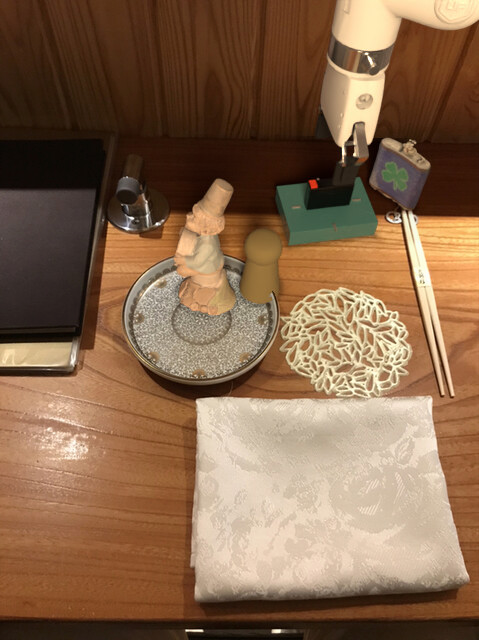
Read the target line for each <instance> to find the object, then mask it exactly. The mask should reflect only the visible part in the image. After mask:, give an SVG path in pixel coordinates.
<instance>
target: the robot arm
mask: <svg viewBox="0 0 479 640" xmlns="http://www.w3.org/2000/svg"><path fill="white" fill-rule="evenodd" d="M332 18H333V19H332V24H331V30H330V35H329V40H328V45H327V49H326V60H327V63H326V67H325V70H324V71H323V81H322V86H321V91H320V102H319V104H318V110H319V111H318V112H319V113H317V114H318V116H317V121H316V124H315V130H314V137H315V139H328V138H330V139H331V138H332V139H333V141H334V143H335V144H336V145H337V146H338V148H339V160H336V162H335V167H334V172H333V175H332V178H333V179H332V178H331V179H332V183H333V185H334V186H337V185H346V184H353V183H354V182H355V180H356V177H357V176H358V172H359V169H360V166H364V165H365V162H366V161H367V160H368V159H369V156H370V155H369V154H370V153H369V148H368V146H369V145H371V143H372V142H373V139H374V136H375V132H376V130H377V124H378V120H379V117H380V112H381V107H382V104H383V103H382V102H383V96H384V90H385V80H386V73H385V72H386V71H387V69H388V67H389V65H390V61H391V57H392V53H393V50H394V47H395V44H396V40H397V38H398V34H399V31H400V27H401V24H402V20H403V19H406V20H408V21H410V22H414V23H417V24H420V25H423V26H425V27H429V28H433V29H437V30H440V31H458V30H462V29H465V28H469V27H470V26H472V25H473V24H475V23H476V22H478V21H479V0H336V3H335V8H334V12H333V17H332ZM351 136H352V139H353V140H349V138H350V137H351ZM353 146H354V153H353V155H349V156H347V147H353Z"/></svg>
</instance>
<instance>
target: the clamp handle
mask: <svg viewBox="0 0 479 640" xmlns="http://www.w3.org/2000/svg"><path fill="white" fill-rule="evenodd" d="M332 179H333V177H332V178H324V179H319V180H317V179H309V180H307V181H306V183H307V187H306V193H305V198H304V204H305V207H306V210H312V209H321V208H330V207H338V206H347V205H350V201H351V197H352V193H353V190H354V186H355V183H353V184H346V185H337V186H334V185H333V183H332Z"/></svg>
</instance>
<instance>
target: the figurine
mask: <svg viewBox="0 0 479 640" xmlns="http://www.w3.org/2000/svg"><path fill="white" fill-rule="evenodd" d="M233 194H234V187H233V186H232V185H231V184H230V183H229V182H228V181H226V180H224V179H222V178H216V179H215V180H214V181H213V183H212V184H211V185H210V187H209V188H208V190H207V191H206V193H205V195H204V196H203V198H201V200H199V201H198V202H197V203H195V204H194V205H193V207H192V211H189V212H188V213H186V214H185V216H186V218H185V219H186V220H185V224H184V226H182V227H181V228H180V229H179V232H178V236H179V239H178V242H177V244H176V249H175V254H174V255H173V257H172V258H173V259H172V260H173V261H174V262H173V266H175V267H176V269H175V271H176V273H177V274H178V275H179V276H180V277H182V278H184V280H183V281H182V282H181V284H180V285H179V288H178V295H177V297H178V298H179V303H180V304H181V305H184V306H185V307H186V308H189V309H190V310H191V311H193V312H201V313H202V314H208V315H210V316H220V315H221V314H224V313H226V312H229V311H230V310H232V309H233V308H234V306H235V304H236V301H237V297H236V292H235V291H234V288H232V287H231V285H230V283H229V280H228V277H227V275H228V273H227V271H226V269H225V268H224V265H225V256H224V252H223V250H222V249H221V242H220V238H219V234H220V233H221V232H222V231H224V229H225V224H226V218H225V215H224V212H225V210H226V208H227V206H228V204H229V202H230V200H231V198H232V195H233Z"/></svg>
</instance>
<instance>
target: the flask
mask: <svg viewBox="0 0 479 640" xmlns="http://www.w3.org/2000/svg"><path fill="white" fill-rule="evenodd" d="M416 144H417V141H416V140H415V139H413V140H412V139H409V141H407V142H406V143H405V142H404V143H402V142H399V141H397V140H395V139H393V138H391V137H385V138H383V139H381V140H380V143H379V147H378V150H377V153H376V154H377V155H376V158H375V161H374V163H373V167H372V170H371V173H370V177H369V178H368V184H369V185H370V187H371V188H373V190H377V191H378V192H379V193H381V194H382V195H383V196H384V197H385V198H388V199H391V200H392V202H395V203H397V204H398V206H399V207H401V208H402V209H403V210H406V211H413V210H414V209H415V208H416V206H417V204H418V202H419V199H420V198H421V197H420V196H421V194H422V191H423V188H424V186H425V183H426V181H427V179H428V176H429V174H430V171H431V167H432V165H431V163H430V162H429V161H428V160H427V159H426V158H425V157H423V156H422V155H421V154H420V153H418V152H417V149H416V148H415V147H414V145H416ZM408 205H409V206H408Z"/></svg>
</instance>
